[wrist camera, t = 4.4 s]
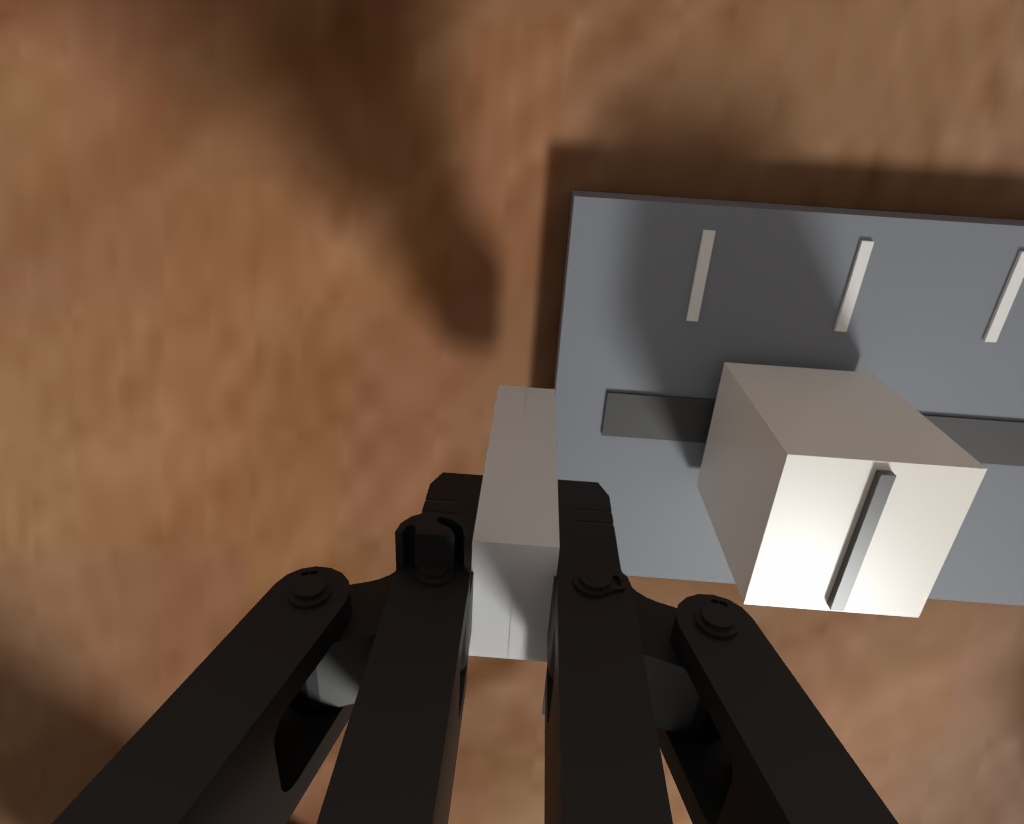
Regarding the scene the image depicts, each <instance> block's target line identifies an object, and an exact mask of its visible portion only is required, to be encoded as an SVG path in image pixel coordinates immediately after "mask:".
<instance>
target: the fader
mask: <svg viewBox="0 0 1024 824" xmlns="http://www.w3.org/2000/svg"><path fill="white" fill-rule="evenodd" d="M986 471H987V468H986V467H984V466H983V465H982V464H981V463H980V462H978V461H977V460H976V459H975V458H974V457H972V456H971V455H970V454H969V453H968V452H966V451H965V450H964V449H963V448H962V447H960V446H959V445H958V444H957V443H956V442H954V441H953V440H952V439H951V438H950V437H948V436H947V435H946V434H945V433H944V432H942V431H941V430H940V429H939V428H938V427H936V426H935V425H934V424H933V423H931V422H930V421H929V420H928V419H927V418H925V417H924V416H923V415H922V414H921V413H919V412H918V411H917V410H916V409H915V408H913V407H912V406H911V405H910V404H909V403H907V402H906V401H905V400H904V399H903V398H901V397H900V396H899V395H898V394H897V393H895V392H894V391H893V390H892V389H891V388H889V387H888V386H887V385H886V384H885V383H883V382H882V381H881V380H880V379H879V378H877V377H876V376H875V375H874V374H873V373H869V372H855V371H841V370H827V369H813V368H799V367H785V366H771V365H757V364H743V363H728V362H724V366H723V371H722V375H721V379H720V384H719V388H718V393H717V397H716V402H715V406H714V411H713V415H712V420H711V424H710V428H709V433H708V437H707V442H706V446H705V451H704V455H703V460H702V464H701V468H700V473H699V477H698V482H697V487H698V490H699V492H700V495H701V497H702V500H703V502H704V505H705V507H706V510H707V512H708V515H709V517H710V520H711V523H712V525H713V528H714V530H715V533H716V535H717V538H718V540H719V543H720V545H721V548H722V550H723V553H724V555H725V558H726V561H727V563H728V566H729V568H730V571H731V573H732V576H733V578H734V581H735V583H736V586H737V588H738V591H739V593H740V596H741V598H742V601H743V604H750V605H763V606H775V607H788V608H801V609H814V610H827V611H840V612H853V613H866V614H879V615H892V616H905V617H918V618H919V615H920V613H921V611H922V609H923V607H924V605H925V602H926V600H927V598H928V596H929V594H930V592H931V590H932V587H933V585H934V583H935V581H936V579H937V577H938V574H939V572H940V570H941V568H942V566H943V564H944V561H945V559H946V557H947V555H948V553H949V551H950V549H951V546H952V544H953V542H954V540H955V538H956V536H957V533H958V531H959V529H960V527H961V525H962V523H963V521H964V518H965V516H966V514H967V512H968V510H969V508H970V505H971V503H972V501H973V499H974V497H975V495H976V493H977V490H978V488H979V486H980V484H981V482H982V480H983V477H984V475H985V473H986Z"/></svg>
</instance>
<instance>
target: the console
mask: <svg viewBox="0 0 1024 824" xmlns="http://www.w3.org/2000/svg"><path fill="white" fill-rule="evenodd" d="M724 362H728V363H743V364H757V365H771V366H785V367H799V368H813V369H827V370H841V371H855V372H869V373H873V374H874V375H875V376H876V377H877V378H879V379H880V380H881V381H882V382H883V383H885V384H886V385H887V386H888V387H889V388H891V389H892V390H893V391H894V392H895V393H897V394H898V395H899V396H900V397H901V398H903V399H904V400H905V401H906V402H907V403H909V404H910V405H911V406H912V407H913V408H915V409H916V410H917V411H918V412H919V413H921V414H922V415H923V416H924V417H925V418H927V419H928V420H929V421H930V422H931V423H933V424H934V425H935V426H936V427H938V428H939V429H940V430H941V431H942V432H944V433H945V434H946V435H947V436H948V437H950V438H951V439H952V440H953V441H954V442H956V443H957V444H958V445H959V446H960V447H962V448H963V449H964V450H965V451H966V452H968V453H969V454H970V455H971V456H972V457H974V458H975V459H976V460H977V461H978V462H980V463H981V464H982V465H983V466H984V467H986V468H987V471H986V473H985V475H984V477H983V480H982V482H981V484H980V486H979V488H978V490H977V493H976V495H975V497H974V499H973V501H972V503H971V505H970V508H969V510H968V512H967V514H966V516H965V518H964V521H963V523H962V525H961V527H960V529H959V531H958V533H957V536H956V538H955V540H954V542H953V544H952V546H951V549H950V551H949V553H948V555H947V557H946V559H945V561H944V564H943V566H942V568H941V570H940V572H939V574H938V577H937V579H936V581H935V583H934V585H933V587H932V590H931V592H930V594H929V596H928V599H941V600H954V601H967V602H980V603H993V604H1007V605H1020V606H1024V220H1012V219H997V218H982V217H967V216H952V215H937V214H922V213H907V212H892V211H878V210H863V209H848V208H833V207H818V206H803V205H788V204H773V203H758V202H743V201H728V200H713V199H698V198H683V197H668V196H653V195H638V194H623V193H608V192H593V191H578V190H572V200H571V211H570V221H569V232H568V242H567V253H566V263H565V274H564V284H563V294H562V305H561V315H560V326H559V336H558V347H557V357H556V368H555V378H554V388H553V389H555V416H556V448H557V479H559V480H573V481H586V482H598V483H599V484H600V485H601V487H602V488H603V489H604V490H605V491H606V493H607V494H608V495H609V497H610V504H611V510H612V512H611V513H612V516H613V522H614V524H613V526H614V528H615V535H616V541H617V547H618V553H619V559H620V566H621V571H622V572H623V573H624V574H625V575H629V576H642V577H655V578H668V579H681V580H694V581H707V582H720V583H733V584H736V583H735V581H734V578H733V576H732V573H731V571H730V568H729V566H728V563H727V561H726V558H725V555H724V553H723V550H722V548H721V545H720V543H719V540H718V538H717V535H716V533H715V530H714V528H713V525H712V523H711V520H710V517H709V515H708V512H707V510H706V507H705V505H704V502H703V500H702V497H701V495H700V492H699V490H698V487H697V482H698V477H699V473H700V468H701V464H702V460H703V455H704V451H705V446H706V442H707V437H708V433H709V428H710V424H711V420H712V415H713V411H714V406H715V402H716V397H717V393H718V388H719V384H720V379H721V375H722V371H723V366H724Z"/></svg>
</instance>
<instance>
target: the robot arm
mask: <svg viewBox="0 0 1024 824" xmlns="http://www.w3.org/2000/svg"><path fill="white" fill-rule="evenodd" d="M611 512H612V510H611V504H610V497H609V495H608V494H607V493H606V491H605V490H604V489H603V488H602V487H601V485H600V484H599V483H598V482H586V481H573V480H559V479H557V448H556V416H555V389H544V388H530V387H516V386H502V385H498V390H497V396H496V402H495V408H494V414H493V420H492V426H491V432H490V438H489V444H488V450H487V456H486V462H485V468H484V474H483V475H470V474H457V473H442V474H441V475H440V476H439V477H438V478H436V479H435V480H434V481H433V482H432V483H431V484H430V486H429V490H428V493H427V496H426V501H425V503H424V506H423V510H422V513H421V514H419V515H415V516H412V517H410V518H408V519H407V520H405V521H404V522H402V523H401V524H400V525H399V527H398V528H397V530H396V531H395V543H396V571H395V572H394V573H392V574H391V575H389V576H386V577H384V578H382V579H378V580H374V581H370V582H364V583H358V584H352V585H349V581H348V580H347V578H346V577H345V576H344V575H343V574H342V573H341V572H339V571H336V570H334V569H332V568H326V567H317V566H316V567H310V568H303V569H299V570H297V571H295V572H292V573H290V574H287V575H286V576H285V577H283V578H282V579H281V580H279V581H278V582H277V583H276V584H275V585H274V586H273V587H272V588H271V589H270V590H269V591H268V592H267V593H266V594H265V595H264V596H263V597H262V599H261V600H260V601H259V602H258V603H257V604H256V605H255V606H254V607H253V608H252V609H251V610H250V611H249V612H248V614H247V615H246V616H245V617H244V618H243V619H242V620H241V621H240V622H239V623H238V624H237V625H236V626H235V628H234V629H233V630H232V631H231V632H230V633H229V634H228V635H227V636H226V637H225V638H224V639H223V640H222V641H221V643H220V644H219V645H218V646H217V647H216V648H215V649H214V650H213V651H212V652H211V653H210V654H209V655H208V657H207V658H206V659H205V660H204V661H203V662H202V663H201V664H200V665H199V666H198V667H197V668H196V669H195V670H194V672H193V673H192V674H191V675H190V676H189V677H188V678H187V679H186V680H185V681H184V682H183V683H182V684H181V685H180V687H179V688H178V689H177V690H176V691H175V692H174V693H173V694H172V695H171V696H170V697H169V698H168V699H167V701H166V702H165V703H164V704H163V705H162V706H161V707H160V708H159V709H158V710H157V711H156V712H155V713H154V714H153V716H152V717H151V718H150V719H149V720H148V721H147V722H146V723H145V724H144V725H143V726H142V727H141V728H140V730H139V731H138V732H137V733H136V734H135V735H134V736H133V737H132V738H131V739H130V740H129V741H128V742H127V743H126V745H125V746H124V747H123V748H122V749H121V750H120V751H119V752H118V753H117V754H116V755H115V756H114V757H113V758H112V760H111V761H110V762H109V763H108V764H107V765H106V766H105V767H104V768H103V769H102V770H101V771H100V772H99V774H98V775H97V776H96V777H95V778H94V779H93V780H92V781H91V782H90V783H89V784H88V785H87V786H86V787H85V789H84V790H83V791H82V792H81V793H80V794H79V795H78V796H77V797H76V798H75V799H74V800H73V801H72V803H71V804H70V805H69V806H68V807H67V808H66V809H65V810H64V811H63V812H62V813H61V814H60V815H59V816H58V818H57V819H56V820H55V821H54V822H53V823H52V824H286V823H287V821H288V820H289V818H290V816H291V815H292V813H293V811H294V810H295V808H296V806H297V805H298V803H299V801H300V800H301V798H302V796H303V795H304V793H305V791H306V790H307V788H308V787H309V785H310V783H311V782H312V780H313V778H314V777H315V775H316V773H317V772H318V770H319V768H320V767H321V765H322V763H323V762H324V760H325V758H326V757H327V755H328V753H329V752H330V750H331V748H332V747H333V745H334V743H335V742H336V740H337V738H338V737H339V735H340V733H341V732H342V730H343V728H344V727H345V725H346V723H347V722H348V720H349V722H348V725H347V729H346V732H345V735H344V738H343V741H342V744H341V748H340V751H339V754H338V757H337V760H336V764H335V767H334V770H333V773H332V776H331V780H330V783H329V786H328V789H327V792H326V795H325V799H324V802H323V805H322V808H321V811H320V815H319V818H318V821H317V824H448V818H449V811H450V803H451V796H452V788H453V781H454V773H455V766H456V758H457V750H458V743H459V735H460V728H461V720H462V713H463V705H464V698H465V690H466V682H467V661H468V655H470V656H483V657H495V658H508V659H521V660H533V661H546V662H547V673H546V682H545V691H544V700H543V708H542V714H545V824H673V822H672V816H671V810H670V804H669V799H668V793H667V787H666V781H665V775H664V770H663V764H662V758H661V752H660V749H661V751H662V753H663V756H664V758H665V760H666V763H667V765H668V767H669V770H670V772H671V774H672V776H673V779H674V781H675V783H676V786H677V788H678V790H679V793H680V795H681V797H682V800H683V802H684V804H685V807H686V809H687V811H688V814H689V816H690V818H691V821H692V823H693V824H898V822H897V821H896V820H895V818H894V817H893V815H892V814H891V813H890V811H889V810H888V808H887V807H886V805H885V804H884V803H883V801H882V800H881V798H880V797H879V796H878V794H877V793H876V791H875V790H874V789H873V787H872V786H871V784H870V783H869V782H868V780H867V779H866V777H865V776H864V775H863V773H862V772H861V770H860V769H859V767H858V766H857V765H856V763H855V762H854V760H853V759H852V758H851V756H850V755H849V753H848V752H847V751H846V749H845V748H844V746H843V745H842V744H841V742H840V741H839V739H838V738H837V737H836V735H835V734H834V732H833V731H832V729H831V728H830V727H829V725H828V724H827V722H826V721H825V720H824V718H823V717H822V715H821V714H820V713H819V711H818V710H817V708H816V707H815V706H814V704H813V703H812V701H811V700H810V699H809V697H808V696H807V694H806V693H805V691H804V690H803V689H802V687H801V686H800V684H799V683H798V682H797V680H796V679H795V677H794V676H793V675H792V673H791V672H790V670H789V669H788V668H787V666H786V665H785V663H784V662H783V661H782V659H781V658H780V656H779V655H778V653H777V652H776V651H775V649H774V648H773V646H772V645H771V644H770V642H769V641H768V639H767V638H766V637H765V635H764V634H763V632H762V631H761V630H760V628H759V627H758V625H757V624H756V623H755V621H754V620H753V618H752V617H751V616H750V615H749V614H748V613H747V612H746V611H745V610H744V609H743V608H742V607H740V606H738V605H737V604H735V603H733V602H732V601H730V600H728V599H725V598H722V597H718V596H715V595H706V594H697V595H694V596H690V597H686V598H685V599H684V600H683V601H682V602H681V603H680V604H678V608H674V607H671V606H668V605H665V604H662V603H659V602H656V601H654V600H651V599H649V598H646V597H645V596H643V595H641V594H640V593H638V592H637V591H635V590H634V589H633V588H632V586H631V584H630V582H629V580H628V577H627V576H626V575H625V574H624V573H623V572H622V571H621V566H620V559H619V553H618V547H617V541H616V535H615V528H614V526H613V524H614V522H613V516H612V513H611ZM349 718H350V719H349ZM659 746H660V747H659Z"/></svg>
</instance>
